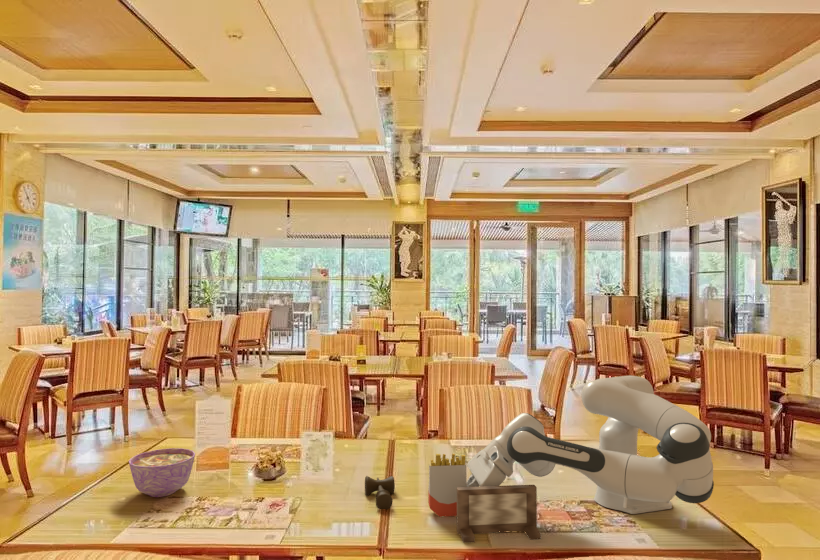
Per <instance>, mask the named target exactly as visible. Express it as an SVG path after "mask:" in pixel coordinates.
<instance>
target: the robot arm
mask: <svg viewBox="0 0 820 560" xmlns="http://www.w3.org/2000/svg"><path fill="white" fill-rule="evenodd" d="M580 394H581V395H580V398H581V402H582V405H583V406H584V408H585V409H586V410H587V412H589V413H591V414H593V415H599V416H603V417H607V419H606V421H605V422H604V424H603V425H602V426H601V427H600V429H599V433H598V435H599V438H598V439H599V441H598V442H599V445H598V446H599V448H596V447H589V446H585V445H582V444H578V443H574V442H569V441H566V440H561V439H556V438H552V437H548V436H546V433H545V427H544V425H543V423H542V422H541V421H540V420H539V419H537V417H535V416H533V415H532V414H530V413H528V412H521V413H520V414H518V415H516V416H515V417H514V418H513V419H511V421H509V422H508V424H507V425H505V426H504V428H503V429H502V431H501V433H500V434H499V435H497V436H495V437H494V438H493V439H492V440H491V441H490V443H489V442H488V444H487V445H486V446H485V447H484V448H483V449H481V450H479V451H478V452H476V454H475V455H473V457H472V458H470V460H469V459H468V462H467V464H466V467H467V468H468V469H469V471H470V472H471V474H470V476H469V477H468V479H466V481H467V487H482V486H501V484H503V483H504V481H505V480H506V479H507V477H508V478H510V477H511V476H512V475H513V473H514V463H515V462H517V463H518V464H519V465H520V466H521V467H522V468H523V469H524V470H526V472H528V473H529V474H530V475H532V476H534V477H539V478H541V477H545V476H548V475H549V474H550V473H551V474H552V472H553V471H554V468H555V466H556V465H557V466H563V467H566V468H570V469H573V470H574V471H577V472H579V473H580V474H582V475H583V476H585V477H586V478H587V479H589V480H590V481H592V482H593V483H594V484H595V485H597V487H596V490H595V493H594V497H593V499H594V501H595V503H597V504H599V505H600V506H602V507H605V508H608V509H612V510H614V511H615V510H616V511H621V512H623V513H627V514H631V515H636V514H637V515H638V514H644V513H651V512H657V511H658V512H659V511H665V510H671V509H672V508H673V505H672V502H671V500H672V499H673V498H674V497H675V496H676V497H677V498H678V499H679V500H681V501H683V502H685V503H689V504H700V503H704V502H706V501H708V500H709V498H710V497H711V496H712V494H713V491H714V487H715V486H714V485H715V483H714V464H713V463H714V462H713V460H712V454H711V451H710V447H711V444H710V443H711V440H712V433H711V430H710V428H709V427H708V426H707V424H705V423H704V422H703V421H702V420H701V419H699V418H698V417H697V416H695V415H693V414H692V413H690V412H689V411H688V410H685V409H684V408H682V407H680V406H678V405H676V404H674V403H672V402H671V401H669V400H667V399H665V398H663V397H661V396H659V395H657V394H654V388H653V386H652V384H651V382H650V381H649V380H648V379H646V378H644V377H641V376H637V375H630V374H629V375H622V376H621V375H620V376H612V377H605V378H604V377H603V378H597V379H595V380H591V381H589V382H587V383H585V384H584V386H583V387H582V389H581V393H580ZM639 430H640V431H641V430H642V432H644V433H645V434H646V433H647V434H648V435H650V436H652V437H653V438H655V439H657V441H660V442H659V443H658V444H657V445H656V450H657V452H658V453H659V454H657V455H655V456H652V457H647V456H642V455H641V456H640V455H638V435H639Z"/></svg>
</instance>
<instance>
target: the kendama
mask: <svg viewBox="0 0 820 560" xmlns="http://www.w3.org/2000/svg"><path fill="white" fill-rule="evenodd" d="M395 485H396V483H395V477H394V476H393V475H391V476H388V477H386V478H385V479H380V478H379V477H377V478H376V479H375V478H372V477H370V476H368V475H366V476H365V479H364V494H365V496H366V497H368V496H369V495H371V494H373V493H374V492H376V493H375V497H374V498H375V506H376V508H377V509H378V510H380V509H386V510H389V509H391V507H392V505H393V498H392V496H391V495H393V494H394V493H395V488H396V487H395Z"/></svg>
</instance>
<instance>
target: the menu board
mask: <svg viewBox="0 0 820 560" xmlns="http://www.w3.org/2000/svg"><path fill="white" fill-rule="evenodd" d="M537 489H538V488H537V485H535V484H517V485H516V484H512V485H511V484H509V485H499V486H482V487H480V486H479V487H457V516H456V533H457V535H460V537H461V540H462V542H463V543H462V544H469V543H470V544H471V543H472V544H473V543H476V537H475V534H479V535H480V534H490V533H489V532H499V531H500V532H501V533H505V532H504V531H522V532H524V531H525V532H526V533H525V532H524V533H525V534H526V536H527V535H528V536H527V537H528V538H529V540H531V541H532V540H533V541H535V540H542V533H541V532H540V530H539V528H538V521H537V520H538V514H537V513H538V512H537V510H538V508H537V506H538V505H537V503H538V502H537V499H538V498H537V497H538V496H537V494H538V493H537V491H538V490H537Z"/></svg>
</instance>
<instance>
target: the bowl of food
mask: <svg viewBox="0 0 820 560" xmlns="http://www.w3.org/2000/svg"><path fill="white" fill-rule="evenodd" d="M195 456H196V452H195V451H194V450H191V449H189V448H182V447H181V448H179V447H172V448H170V447H169V448H159V449H153V450H150V451H145V452H141V453H139V454H136V455H134V456H132V457H130V459H129V460H128V464H129V468H130V469H129V470H130V473H131V477H132V481H133V483H134V485H135V488H136V489H137V490H138V492H139V493H142V494H145V495H147V496H150V497H153V498H159V497H160V498H162V497H167V496H170V495H173V494H174V493H176V491H178V490H180V489H182V488H183V487H184V486H185V485H187V483H188V481H189V480H190V477H191V472H192V469H193V465H194V461H195V458H196V457H195Z"/></svg>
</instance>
